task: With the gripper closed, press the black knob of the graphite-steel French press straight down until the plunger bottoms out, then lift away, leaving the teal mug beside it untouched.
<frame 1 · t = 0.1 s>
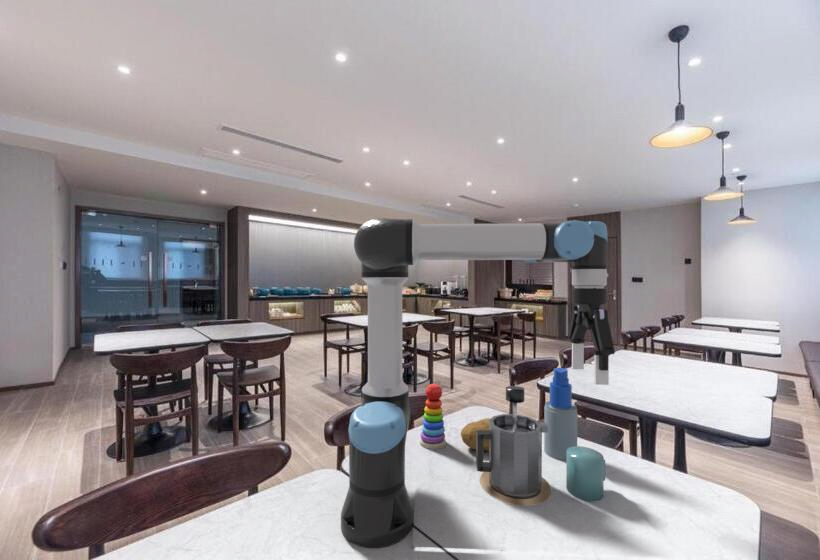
hand: (588, 376, 87), 28 cm above the table, fingers open, 13 cm apart
spray bottle: (560, 455, 106), on the table
potato: (486, 450, 109), on the table
plunger: (514, 412, 90), point 18 cm above the table, slide at 0.0 cm
stacking toy: (433, 445, 112), on the table
trivet: (514, 486, 90), on the table
carafe: (514, 483, 90), resting on trivet
mug: (584, 493, 87), on the table
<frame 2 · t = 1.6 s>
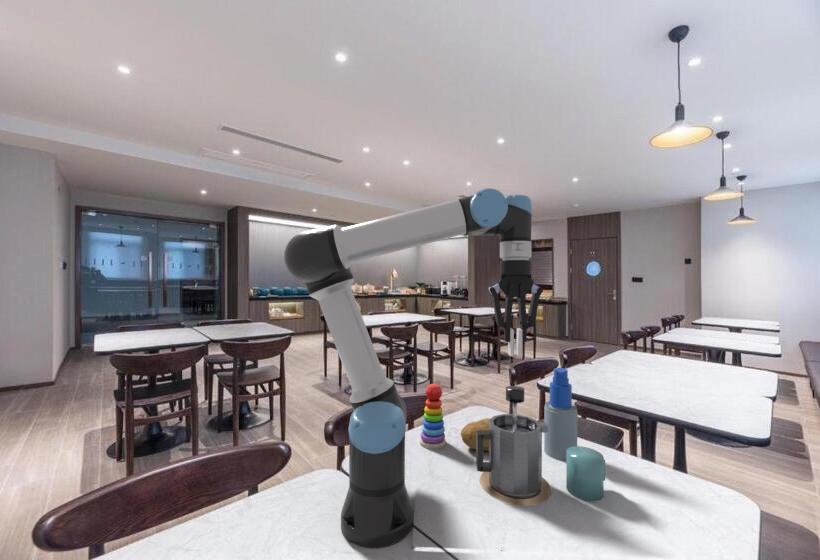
hand: (515, 355, 90), 32 cm above the table, fingers closed
nothing on the table moved.
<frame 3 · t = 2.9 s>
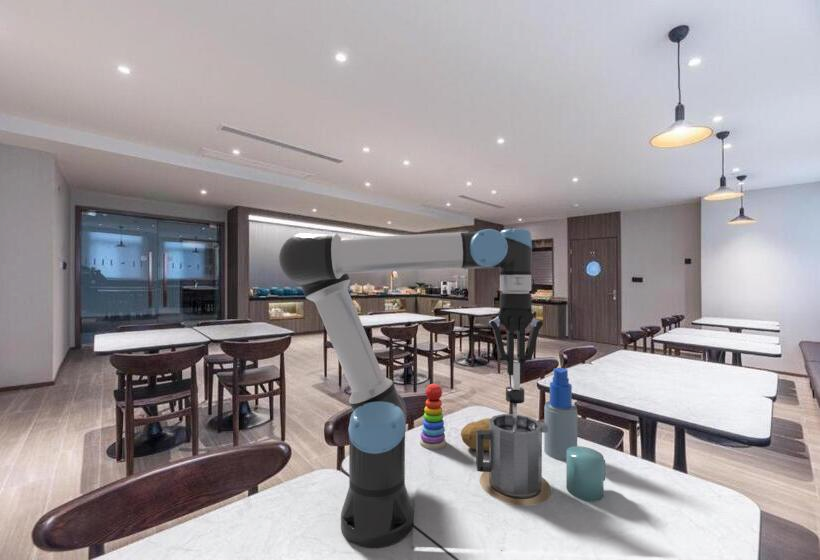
hand: (515, 388, 90), 24 cm above the table, fingers closed
plunger: (514, 413, 90), point 18 cm above the table, slide at 0.1 cm, touching gripper
everything else where it was.
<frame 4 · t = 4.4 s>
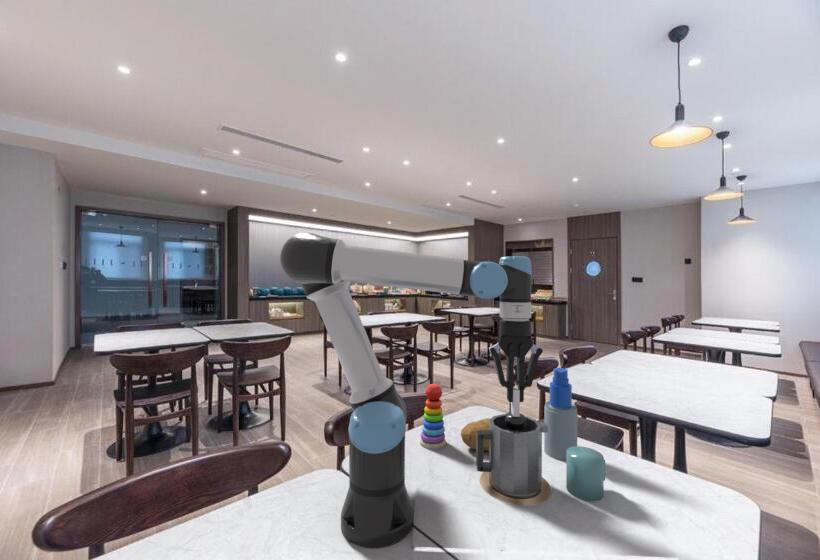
hand: (515, 414, 90), 18 cm above the table, fingers closed
plunger: (514, 439, 90), point 12 cm above the table, slide at 6.7 cm, touching gripper
everything else where it was.
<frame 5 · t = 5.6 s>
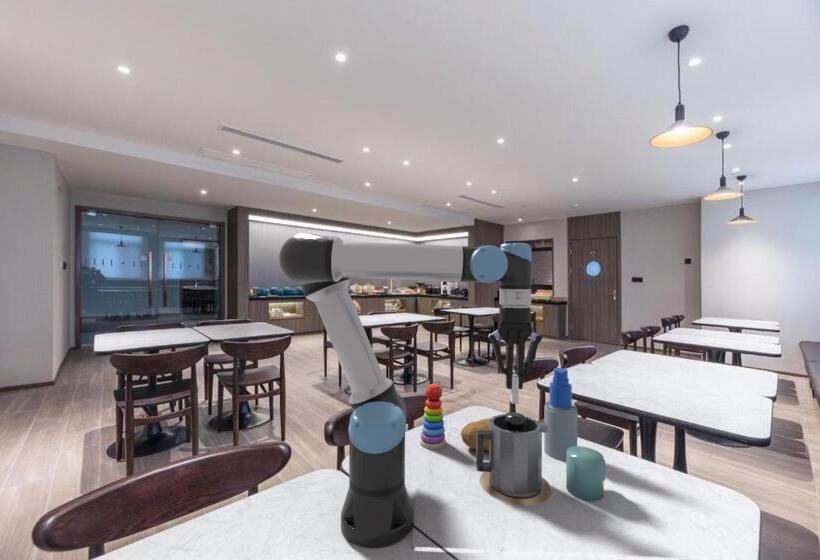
hand: (514, 401, 90), 21 cm above the table, fingers closed
plunger: (514, 439, 90), point 12 cm above the table, slide at 6.7 cm
everything else where it was.
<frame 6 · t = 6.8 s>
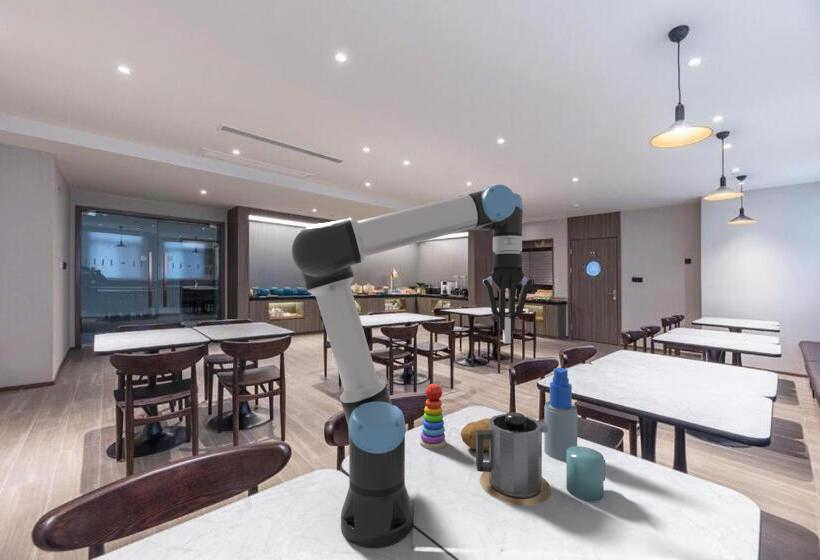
hand: (506, 342, 96), 34 cm above the table, fingers closed
nothing on the table moved.
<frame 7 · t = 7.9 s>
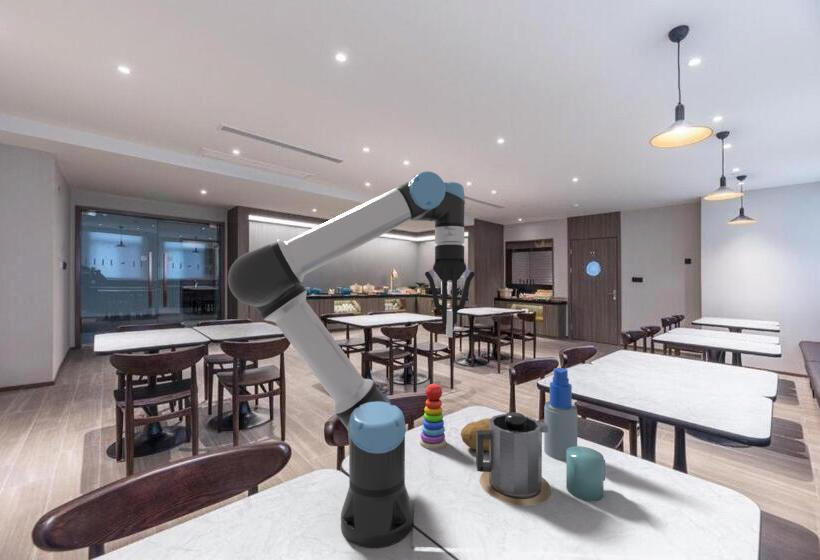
hand: (449, 336, 94), 36 cm above the table, fingers closed
nothing on the table moved.
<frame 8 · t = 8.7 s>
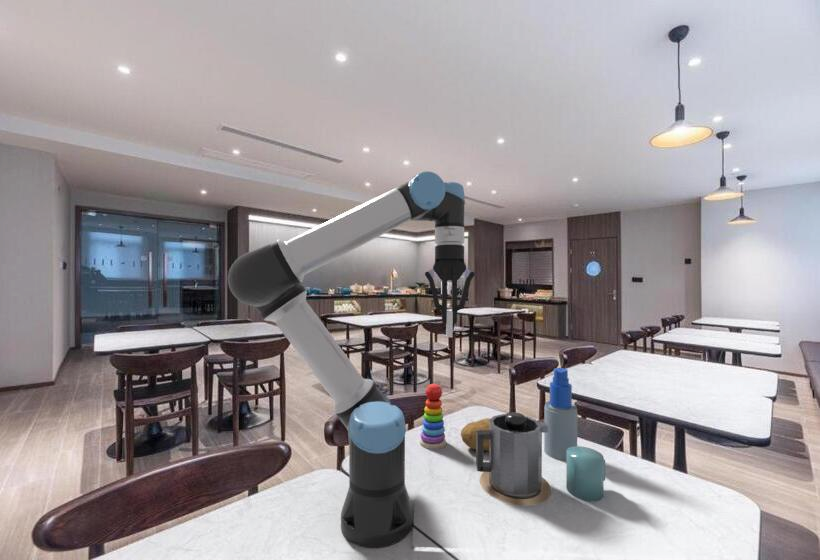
hand: (449, 336, 94), 36 cm above the table, fingers closed
nothing on the table moved.
at the end: plunger slide at 6.7 cm; mug moved 0.1 cm from its start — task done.
